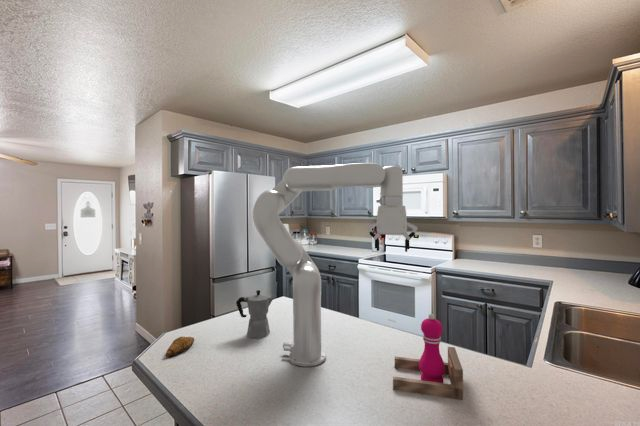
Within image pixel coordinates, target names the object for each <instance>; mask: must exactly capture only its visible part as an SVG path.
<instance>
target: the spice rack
mask: <svg viewBox="0 0 640 426" xmlns="http://www.w3.org/2000/svg"><path fill="white" fill-rule="evenodd" d="M419 361H420V358H412V357H411V358H410V357H403V356H394V368H395V369H400V370H406V371H407V370H409V371H415V372H421V370H420V369H419ZM443 362H444V365H445V373H444V375H446V376H448V379H449V381H450V383H445V382H444V383H438V382H430V381H423V380H421V379H417V378H416V379H414V378H407V377H400V376H392V390H393V391H398V392H404V393H411V394H417V395H425V396H432V397H438V398H444V399H445V398H446V399H451V400H457V401H464V369H463V366H462V364H461V360H460V358H459V356H458V353H457V350H456V347H455V346H447V362H445V361H443Z"/></svg>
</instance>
